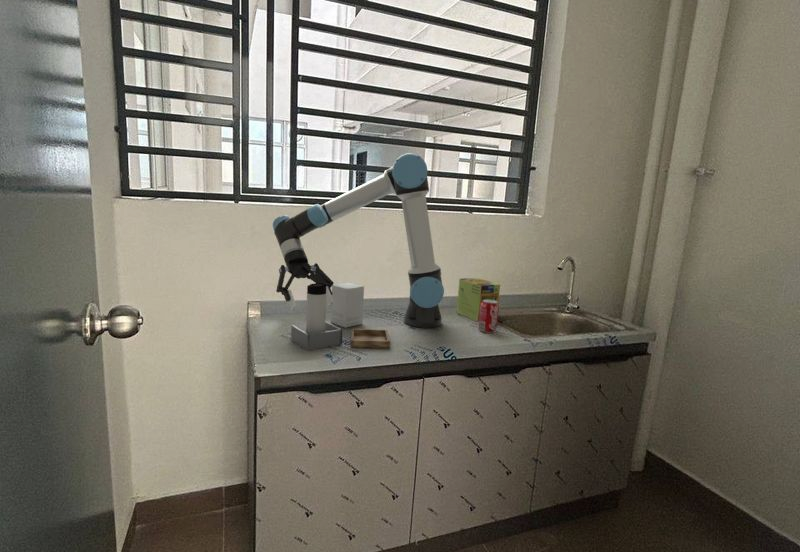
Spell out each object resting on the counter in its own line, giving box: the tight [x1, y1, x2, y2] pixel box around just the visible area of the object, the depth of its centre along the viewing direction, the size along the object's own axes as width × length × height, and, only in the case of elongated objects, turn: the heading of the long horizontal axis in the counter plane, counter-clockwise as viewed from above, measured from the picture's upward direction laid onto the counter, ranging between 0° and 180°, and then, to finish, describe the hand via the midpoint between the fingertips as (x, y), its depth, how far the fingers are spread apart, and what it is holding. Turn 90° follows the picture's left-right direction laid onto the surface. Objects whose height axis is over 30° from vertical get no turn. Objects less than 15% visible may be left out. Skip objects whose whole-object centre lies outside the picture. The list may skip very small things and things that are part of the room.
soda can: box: [478, 299, 500, 334], centre depth 170 cm, size 7×7×12 cm
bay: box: [290, 321, 343, 351], centre depth 147 cm, size 12×13×5 cm
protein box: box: [456, 277, 501, 323], centre depth 191 cm, size 10×15×16 cm
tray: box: [350, 328, 391, 350], centre depth 150 cm, size 13×13×2 cm
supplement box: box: [330, 282, 365, 328], centre depth 169 cm, size 9×9×15 cm
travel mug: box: [305, 282, 328, 334], centre depth 146 cm, size 6×7×20 cm
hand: (313, 306), depth 146 cm, fingers open, 13 cm apart
